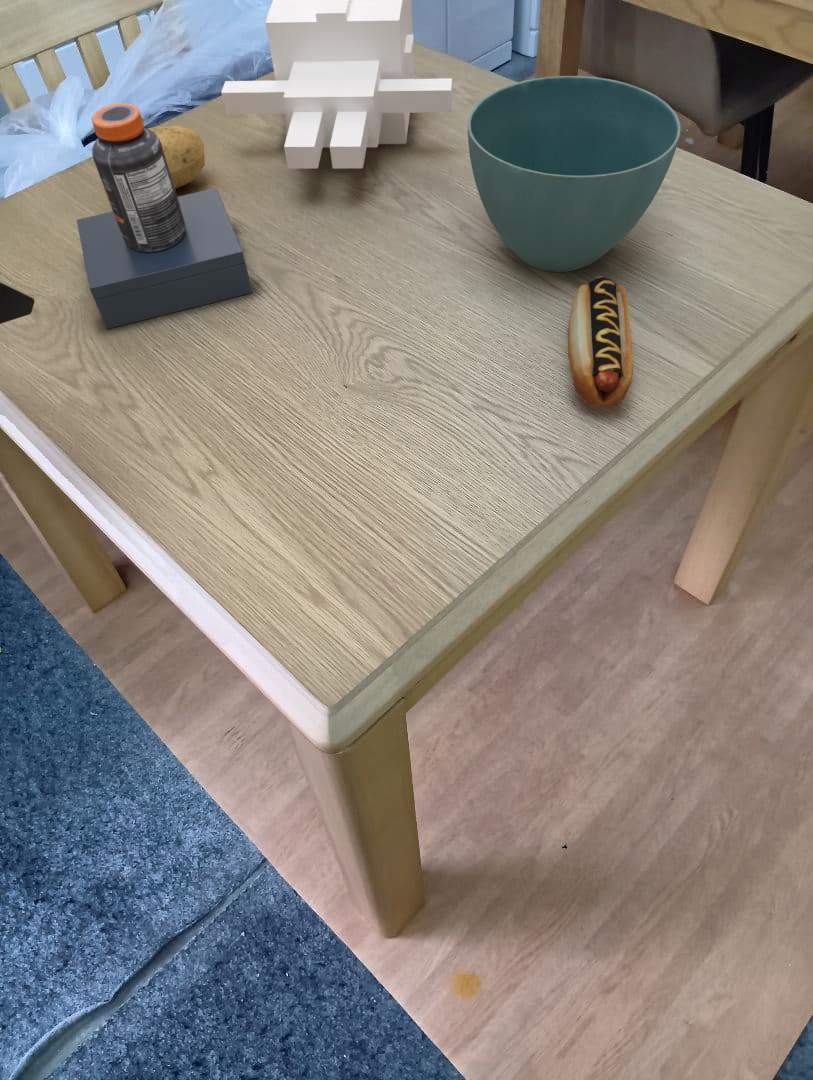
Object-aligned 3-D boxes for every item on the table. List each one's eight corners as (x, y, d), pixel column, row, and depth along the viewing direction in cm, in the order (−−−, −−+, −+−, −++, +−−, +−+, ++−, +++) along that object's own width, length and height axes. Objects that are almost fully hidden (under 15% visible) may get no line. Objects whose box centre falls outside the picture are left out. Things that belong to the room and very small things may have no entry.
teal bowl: (519, 181, 86) (528, 59, 76) (680, 226, 79) (712, 99, 69) (431, 268, 77) (428, 143, 67) (604, 327, 70) (628, 198, 61)
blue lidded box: (107, 329, 74) (89, 288, 70) (93, 260, 80) (76, 219, 77) (252, 292, 76) (242, 251, 72) (226, 228, 83) (216, 187, 79)
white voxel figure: (222, 220, 87) (265, 84, 102) (446, 221, 85) (458, 81, 100) (183, 84, 75) (239, -49, 89) (445, 81, 72) (458, -55, 87)
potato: (209, 200, 86) (194, 143, 81) (108, 208, 86) (87, 151, 81) (214, 168, 90) (200, 112, 85) (118, 175, 90) (98, 120, 85)
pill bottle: (126, 222, 76) (81, 100, 67) (187, 214, 76) (151, 91, 67) (122, 257, 73) (75, 134, 63) (187, 249, 73) (149, 124, 64)
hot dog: (565, 420, 64) (572, 373, 60) (563, 316, 72) (570, 268, 68) (627, 423, 63) (640, 376, 59) (619, 318, 71) (629, 270, 67)
